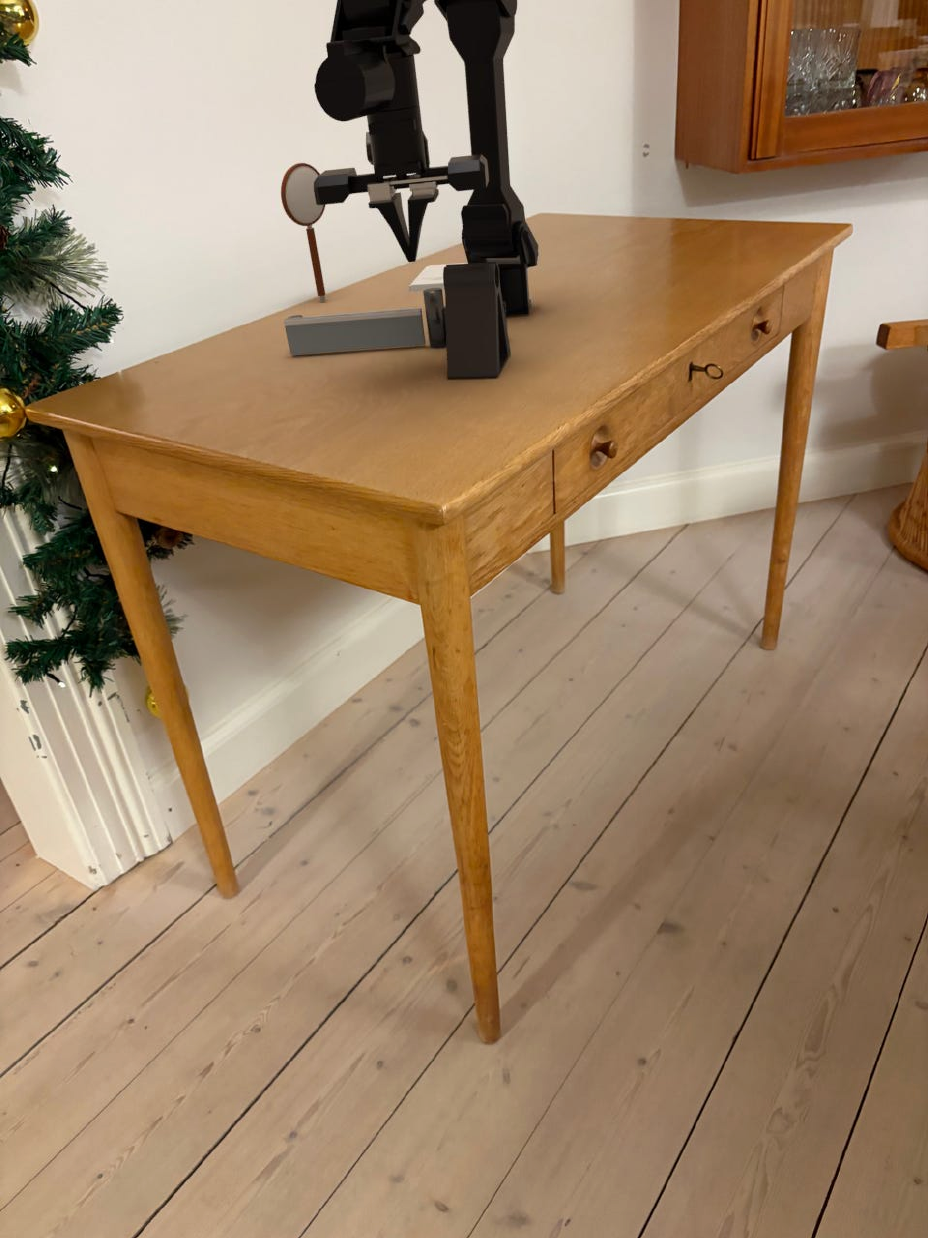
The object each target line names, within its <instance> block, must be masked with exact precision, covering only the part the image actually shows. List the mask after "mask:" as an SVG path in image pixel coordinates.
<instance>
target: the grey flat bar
mask: <svg viewBox="0 0 928 1238" xmlns="http://www.w3.org/2000/svg"><path fill="white" fill-rule="evenodd" d="M283 324H284V328H285V333H286V337H287V342H288V343H287V344H288V348H289V354H290V356H295V355H311V354H324V353H336V352H351V351H352V352H353V351H364V350H365V351H366V350H376V349H377V350H378V349H392V348H406V347H416V346H418V347H419V346H425V345H426V335H425V334H426V333H425V328H424V319H423V309H422V307H414V308H403V309H389V310H388V309H387V310H379V311H378V310H377V311H366V312H365V311H364V312H352V313H350V312H349V313H339V314H338V313H337V314H326V315H312V316H303V317H299V318H288V317H286V318H285V319H284V320H283Z"/></svg>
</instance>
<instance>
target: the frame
mask: <svg viewBox="0 0 928 1238" xmlns="http://www.w3.org/2000/svg"><path fill="white" fill-rule="evenodd" d="M422 293H423V294H422V295H423V301H424V309H425V319H426V325H427V326H426V327H427V334H428V342H429V343H428V344H429V348H431V349H443V348H444V347H445V348H446V310H445V304H444V303H445V302H444V295H443V294H444V293H443V289H441V288H430V289H426V290H422ZM503 308H504V314H505V320H506V326H507V327H508V321H507V320H508V319H507V316H506V306H505V301H504V302H503ZM299 317H304V316H303V315H301V314H299V315H292V316H288V317H287V318H299ZM507 332H508V329H507ZM508 333H509V332H508Z"/></svg>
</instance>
